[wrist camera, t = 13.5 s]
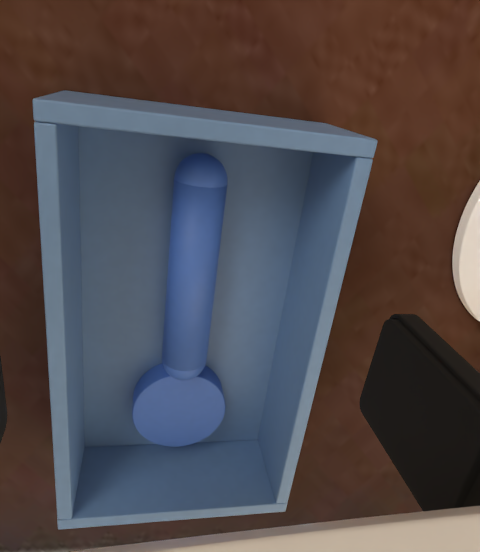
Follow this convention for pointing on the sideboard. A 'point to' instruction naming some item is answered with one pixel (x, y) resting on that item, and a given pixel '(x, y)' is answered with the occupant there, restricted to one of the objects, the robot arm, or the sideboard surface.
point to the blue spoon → (187, 314)
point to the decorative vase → (468, 255)
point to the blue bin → (152, 297)
